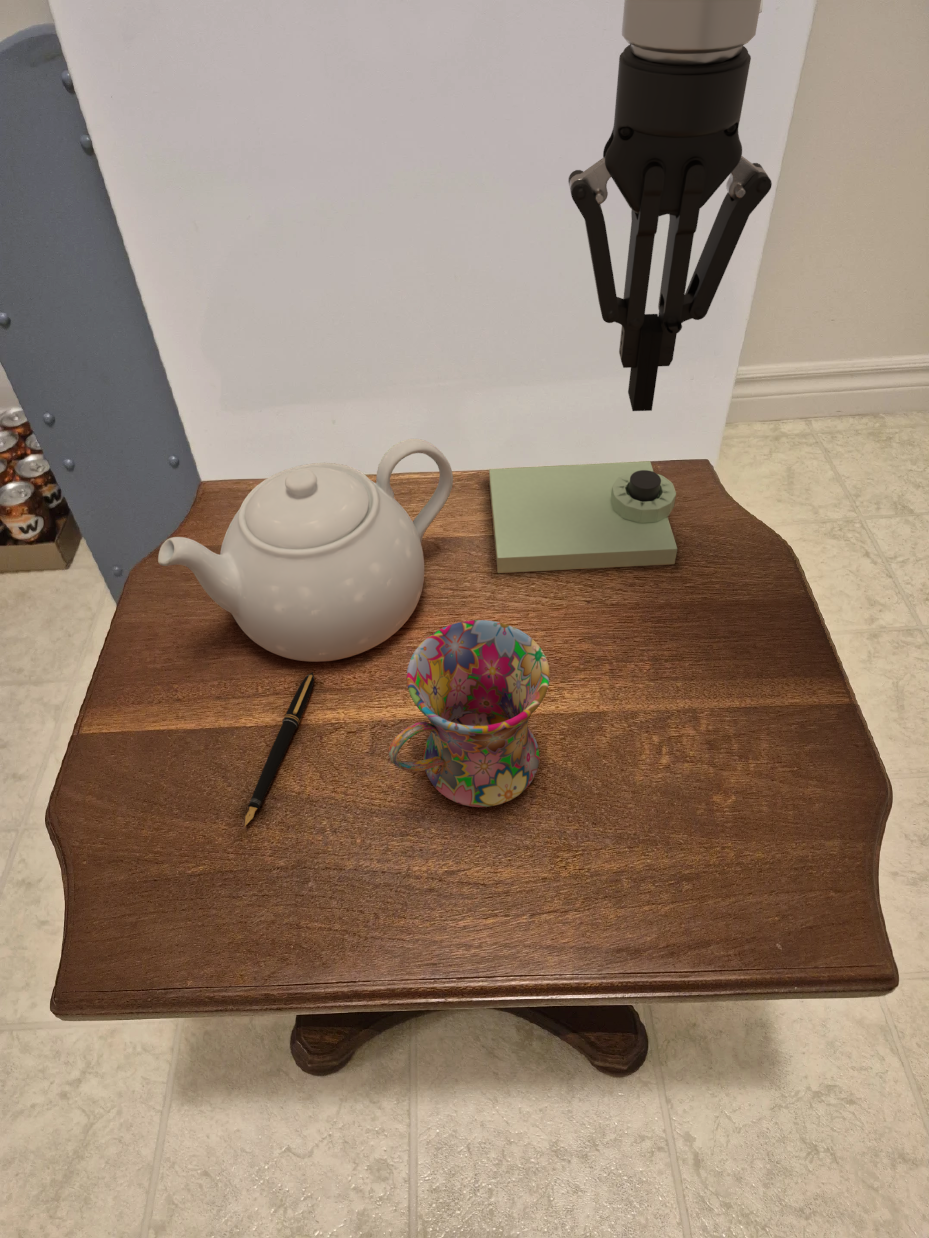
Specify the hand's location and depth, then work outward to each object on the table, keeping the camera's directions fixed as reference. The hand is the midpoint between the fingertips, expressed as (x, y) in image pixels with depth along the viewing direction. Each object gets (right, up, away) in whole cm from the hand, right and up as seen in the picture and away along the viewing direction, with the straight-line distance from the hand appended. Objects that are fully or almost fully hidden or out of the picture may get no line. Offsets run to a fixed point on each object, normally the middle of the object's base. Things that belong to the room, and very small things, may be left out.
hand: (639, 401), depth 66 cm
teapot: (-25, -15, +9) cm, 31 cm away
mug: (-14, -28, -4) cm, 32 cm away
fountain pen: (-28, -27, -2) cm, 39 cm away
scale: (-3, -8, +15) cm, 17 cm away
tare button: (+3, -5, +12) cm, 14 cm away
